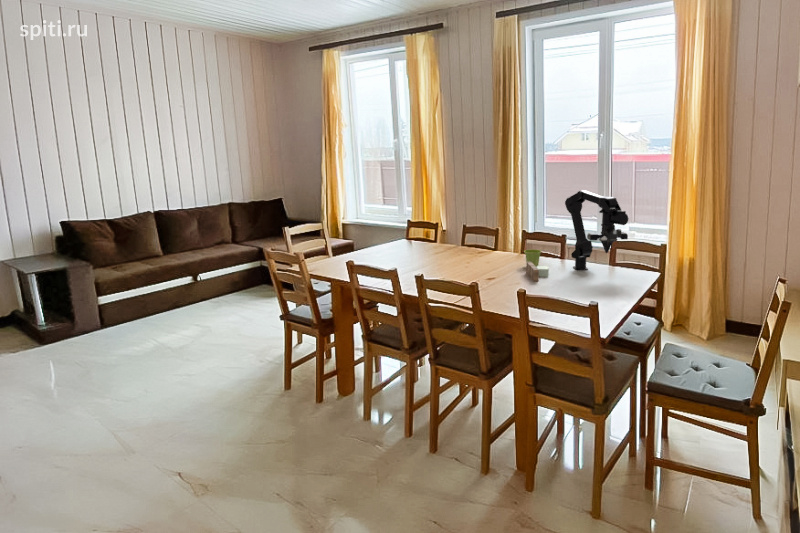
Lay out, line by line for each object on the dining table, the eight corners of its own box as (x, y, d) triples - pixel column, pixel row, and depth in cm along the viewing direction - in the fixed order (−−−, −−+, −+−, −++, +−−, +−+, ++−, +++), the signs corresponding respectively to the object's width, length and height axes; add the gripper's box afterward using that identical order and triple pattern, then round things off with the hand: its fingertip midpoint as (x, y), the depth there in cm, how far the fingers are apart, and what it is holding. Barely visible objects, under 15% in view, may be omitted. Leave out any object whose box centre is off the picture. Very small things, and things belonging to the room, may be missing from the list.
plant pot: (520, 266, 319) (520, 251, 317) (531, 263, 325) (531, 248, 322) (533, 269, 312) (533, 253, 310) (544, 266, 317) (544, 250, 315)
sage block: (536, 273, 304) (537, 265, 303) (548, 273, 302) (548, 266, 301) (536, 276, 297) (536, 269, 296) (548, 276, 296) (548, 269, 295)
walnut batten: (526, 272, 305) (526, 261, 303) (530, 272, 305) (531, 261, 303) (533, 281, 287) (533, 269, 286) (538, 281, 287) (538, 269, 286)
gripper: (594, 225, 279) (593, 256, 283) (632, 224, 279) (631, 255, 283) (587, 222, 290) (586, 252, 294) (624, 220, 290) (622, 251, 293)
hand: (606, 252), depth 290 cm, fingers closed
